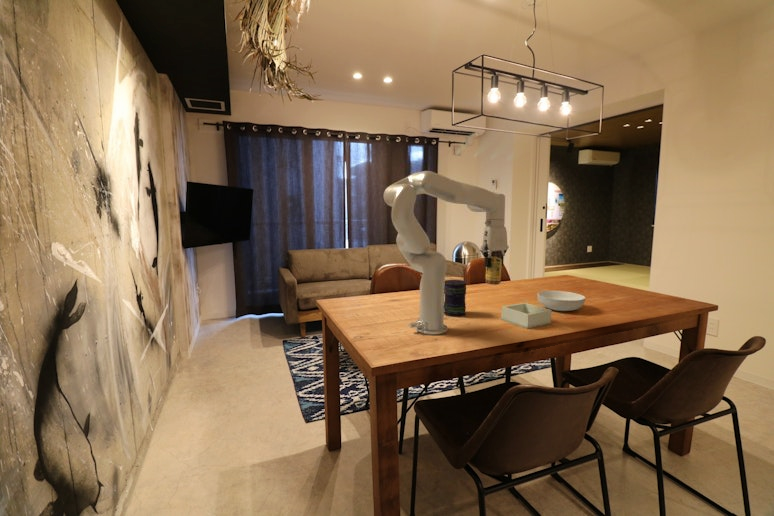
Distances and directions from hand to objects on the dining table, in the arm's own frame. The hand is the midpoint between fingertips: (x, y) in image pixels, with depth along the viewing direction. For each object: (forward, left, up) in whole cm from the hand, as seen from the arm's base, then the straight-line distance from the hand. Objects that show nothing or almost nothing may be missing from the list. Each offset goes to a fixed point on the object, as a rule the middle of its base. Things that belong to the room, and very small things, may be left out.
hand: (494, 265), depth 158 cm
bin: (+11, -8, -24) cm, 28 cm away
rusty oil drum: (-8, +16, -24) cm, 30 cm away
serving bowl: (+41, -2, -24) cm, 48 cm away
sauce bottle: (0, 0, -8) cm, 8 cm away
